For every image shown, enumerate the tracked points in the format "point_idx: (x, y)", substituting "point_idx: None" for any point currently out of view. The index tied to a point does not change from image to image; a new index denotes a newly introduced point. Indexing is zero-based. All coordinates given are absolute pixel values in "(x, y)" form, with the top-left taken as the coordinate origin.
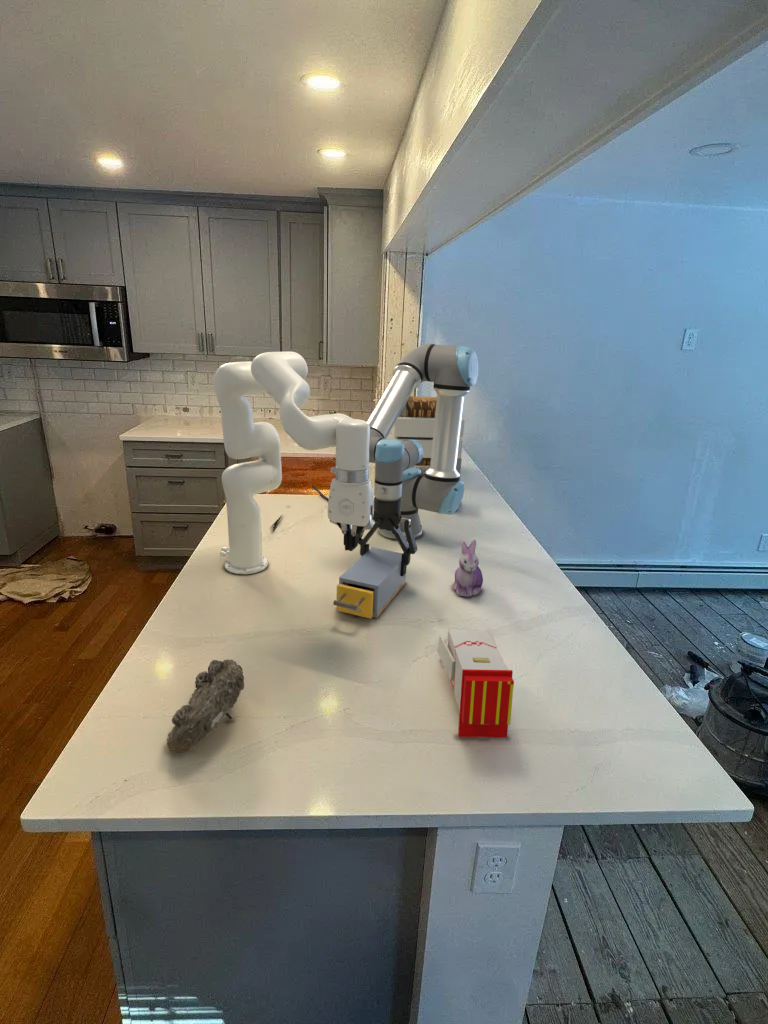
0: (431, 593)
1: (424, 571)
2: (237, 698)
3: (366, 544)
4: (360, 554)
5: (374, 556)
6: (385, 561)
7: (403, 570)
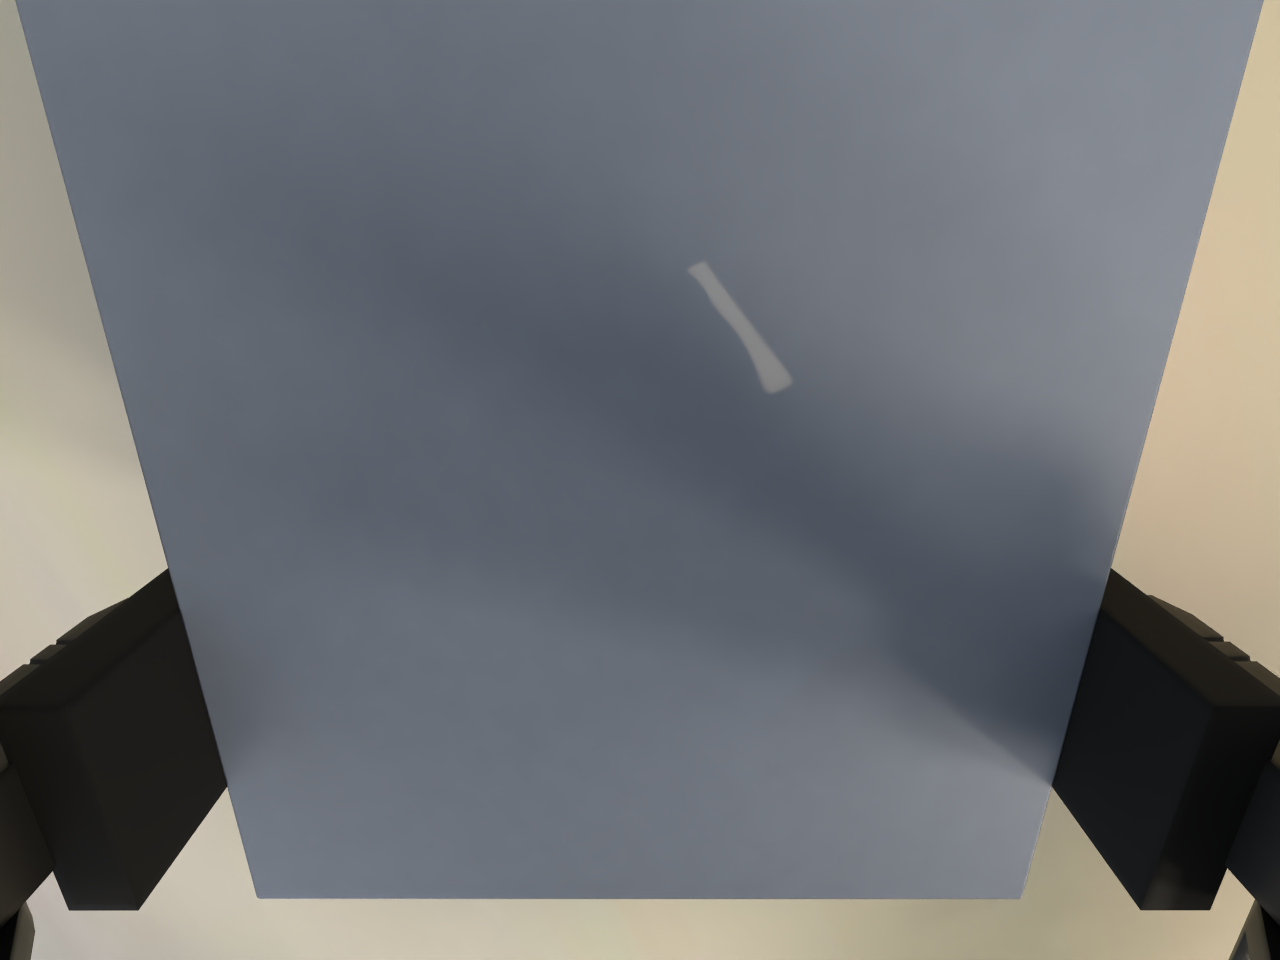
0: (77, 489)
1: None
2: None
3: (1213, 872)
4: (1173, 610)
5: (838, 537)
6: (473, 391)
7: None
